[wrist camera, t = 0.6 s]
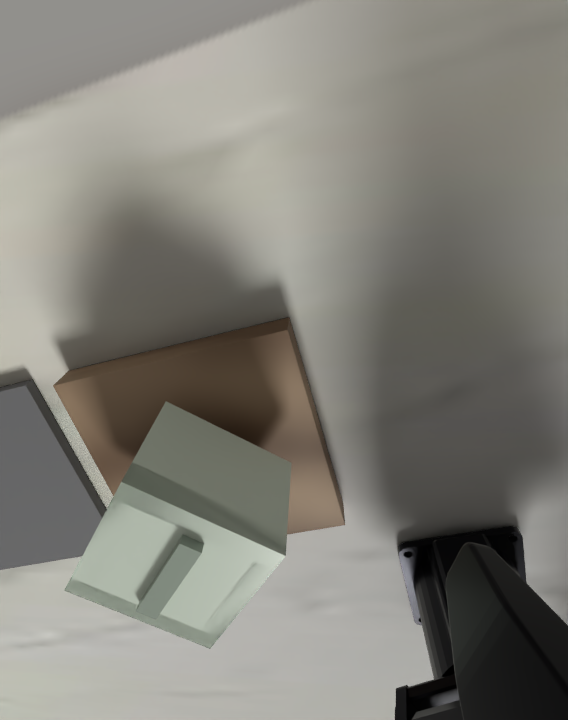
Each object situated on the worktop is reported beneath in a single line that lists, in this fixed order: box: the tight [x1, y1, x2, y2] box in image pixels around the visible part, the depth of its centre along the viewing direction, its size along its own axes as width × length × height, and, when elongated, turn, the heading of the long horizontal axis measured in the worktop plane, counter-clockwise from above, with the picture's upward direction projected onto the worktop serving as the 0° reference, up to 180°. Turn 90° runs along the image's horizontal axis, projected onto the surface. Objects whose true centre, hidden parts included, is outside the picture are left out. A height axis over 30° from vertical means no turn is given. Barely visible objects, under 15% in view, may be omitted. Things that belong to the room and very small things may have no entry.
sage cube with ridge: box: [65, 401, 292, 648], centre depth 19 cm, size 6×6×5 cm
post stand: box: [53, 317, 345, 534], centre depth 21 cm, size 11×11×7 cm
